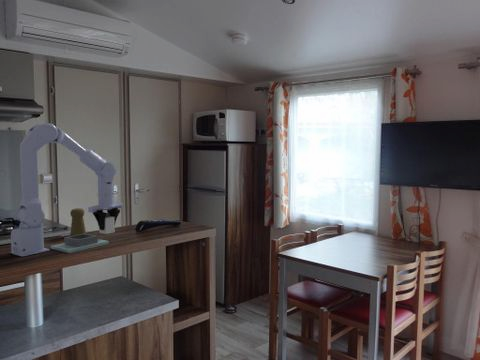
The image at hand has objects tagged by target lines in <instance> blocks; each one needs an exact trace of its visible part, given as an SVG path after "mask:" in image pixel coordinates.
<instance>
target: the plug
mask: <svg viewBox="0 0 480 360" xmlns="http://www.w3.org/2000/svg"><path fill="white" fill-rule="evenodd" d="M105 213H106V216H105V229H104V230H100V229H99V228H98V231H99V232H98V233H99V234H104V235H108V234H112V233H113V234H114V233H116V230H115V229H116V227H115V226H116V223H115V221H114V217H112V216H109V213H108V212H105Z"/></svg>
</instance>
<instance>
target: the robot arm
mask: <svg viewBox="0 0 480 360" xmlns="http://www.w3.org/2000/svg"><path fill="white" fill-rule="evenodd" d="M49 143H52V144H53V143H54V144H60V145H62V146H63V147H64V148H66V149H68V150H69V151H70V152H73V154H75V155H76V156H79V157H78V158H79V161H80V163H82V164H83V165H85V166H86V167H88V168H89V169H91V171H93V172H94V173H95V175H96V176H97V194H98V195H97V197H98V198H97V201H98V204H97V205H93V206H92V205H91V206H88V207H87V208H88V211H87V212H88V213H92V215H93V216H94V218H95V220H96V221H97V224H98V230H99V229H100V230H104V229H105V216H106V213H109V216H112V217H114V221H115V224H116V222H117V219H118V216H119V214H120V213H121V209H123V208H124V202H115V188H114V185H115V184H114V177H115V175H116V173H117V169H116V167H115V165H114V164H112V163H111V162H107V159H106V158H103V157H101V156H100V155H99V154H98V153H97V151H96V150H95V149H91V148H89V149H88V148H87V149H85V148H84V147H83V146H81V145H80V144H79V143H78V142H77V141H75V140H74V139H73V138H72V137H71V136H69V135H68V134H67V132H65V131H63V129H61V128H59V127H57V126H55V124H53V123H50V122H46V123H42V124H41V123H40V124H39V123H37V124H35V125H34V126H32V127H30V128H29V129H28V131H27V132H26V135H25V136H24V138H23V139H22V141H21V143H20V144H19V162H20V165H19V166H20V184H21V185H20V187H21V188H20V189H21V199H20V202H19V208H18V211H17V213H16V218H17V219H18V221H19V222H20V223H19V225H18V228H14V229H12V230H11V231H10V249H11V251H10V254H11V253H12V255H15V256H19V257H27V256H30V255H31V256H32V255H35V254H36V255H37V254H39V253H44V252H49V251H50V249H51V248H46V247H45V238H44V221H45V212H44V211H43V209H42V202H41V200H40V197H39V193H40V192H39V174H38V173H39V171H38V169H39V168H38V151H39V150H40V149H41V148H43V147H44V146H45V145H47V144H49ZM104 211H105V212H104Z"/></svg>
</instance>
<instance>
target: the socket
mask: <svg viewBox="0 0 480 360" xmlns="http://www.w3.org/2000/svg"><path fill="white" fill-rule="evenodd" d="M98 237H99V236H98V235H96V234H95V235H94V234H90V233H89V234H88V233H86V234H85V233H84V234H79V235H74V236H70V235H69V236H65V237H64V242H63V243H59V244H53V245H50V249H51V250H54V251H59V252H63V253H67V254H71V253H75V252H76V253H77V252H80V251H84V250H88V249H93V248H96V247H99V246H100V247H101V246H106V245H108V244H109V243H110V241H109V240H106V239H101V238H98Z"/></svg>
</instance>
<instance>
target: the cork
mask: <svg viewBox="0 0 480 360" xmlns="http://www.w3.org/2000/svg"><path fill="white" fill-rule="evenodd" d="M69 215H70V216H71V224H70V233H69V234H70V235H69V236H74V235H79V234H84V233H85V234H87V232H86V231H87V230H86V227H85V226H86V225H85V220H84V216H85V210H84V209H83V208H78V207H77V208H72V209H71V210H70V214H69Z"/></svg>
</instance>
